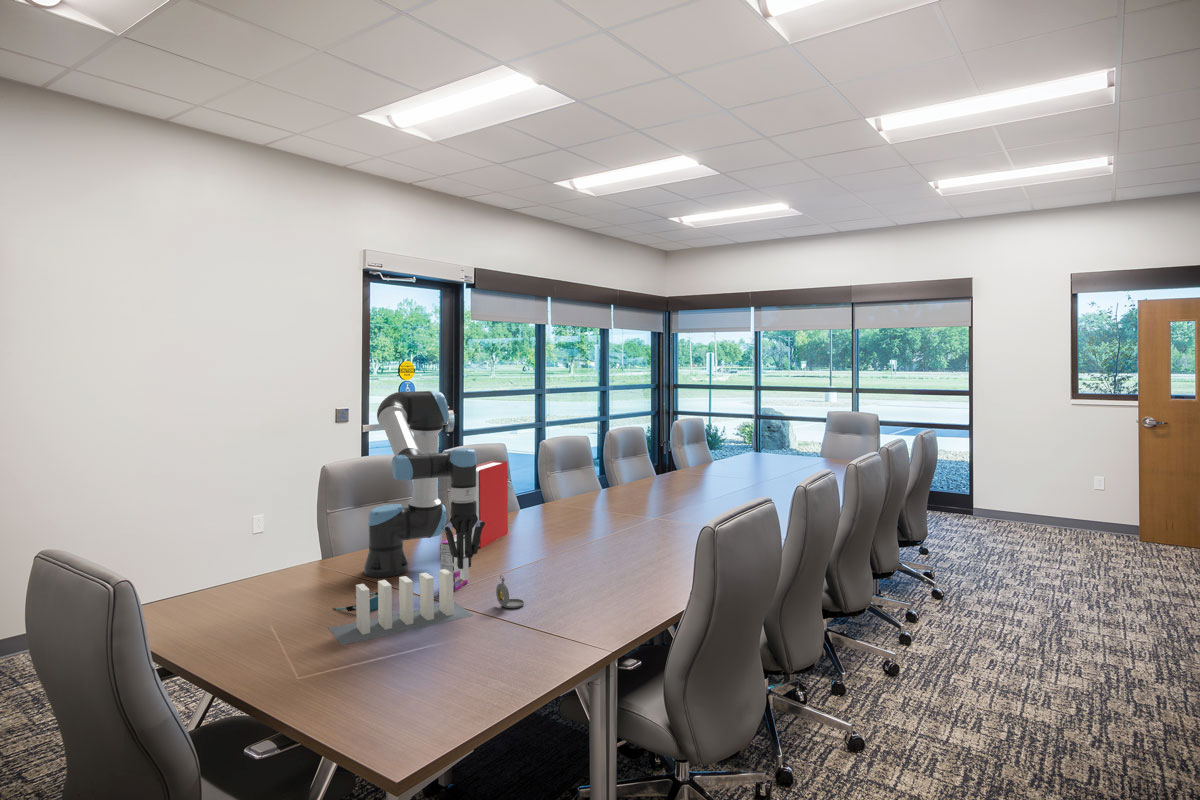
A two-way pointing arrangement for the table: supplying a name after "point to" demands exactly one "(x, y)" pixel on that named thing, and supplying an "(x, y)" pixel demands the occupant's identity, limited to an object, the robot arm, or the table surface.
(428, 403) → the robot arm
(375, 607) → the sunglasses
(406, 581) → the domino
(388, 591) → the domino
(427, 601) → the domino
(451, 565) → the candy bar box
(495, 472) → the book
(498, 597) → the pocket watch
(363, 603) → the domino
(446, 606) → the domino
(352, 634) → the mat
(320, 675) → the table surface
